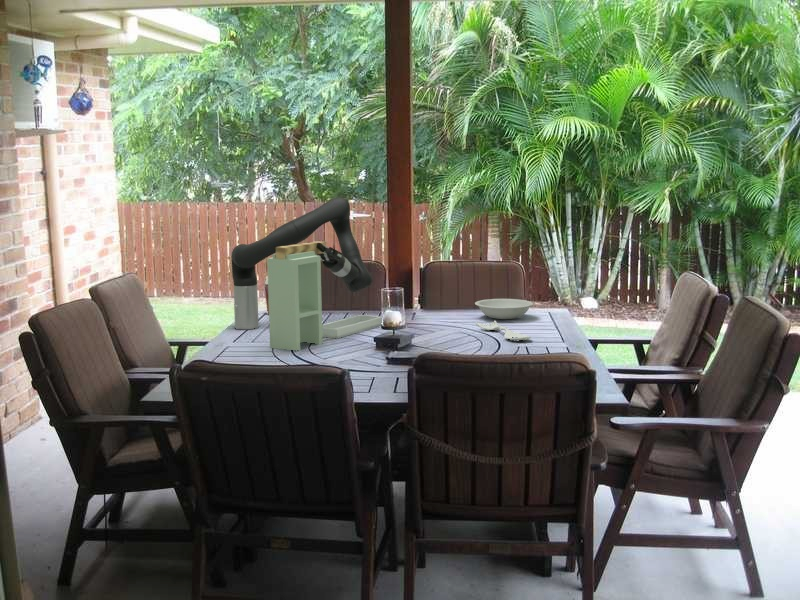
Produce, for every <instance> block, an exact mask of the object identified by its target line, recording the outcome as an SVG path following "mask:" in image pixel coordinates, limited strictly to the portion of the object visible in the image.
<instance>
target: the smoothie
mask: <svg viewBox="0 0 800 600" xmlns="http://www.w3.org/2000/svg"><path fill="white" fill-rule="evenodd" d="M264 281H265V282H264V291H265V300H266V301H265V303H266V312H267V313H268V315H269V298H268V277H267V278H266V280H264Z"/></svg>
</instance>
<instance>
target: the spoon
mask: <svg viewBox="0 0 800 600" xmlns="http://www.w3.org/2000/svg"><path fill="white" fill-rule="evenodd" d="M475 325H476V327H477V326H478V327H479V328H481V329H484V330H486V329H487V330H486V331H489V330H495V331H498V330H501V331H502V330H503V331H505V333H504V334H503V335H504V336H503V337H504V338H505V339H507V340H508V339H510V340H509V341H512V340H523V341H527V340H529V339H531V338H532V336H530V335H527V334H523V333H518V332H515V331H513V330H510V329H509V328H508V327H507V326H502V325H500V324H498V322H497V321H496V320H494V321H491V322H488V323H480V322H477V321H475ZM512 337H518V338H512Z"/></svg>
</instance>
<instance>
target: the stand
mask: <svg viewBox="0 0 800 600" xmlns="http://www.w3.org/2000/svg"><path fill="white" fill-rule="evenodd" d="M266 260H267V262H266V265H267V278H268V298H269V314H268V320H269V321H268V322H269V323H268V324H269V348H270V349H276V348H278V349H279V350H283V349H287V350H286V351H291V350H296V351H295V352H298V351H297V350H299V351H301V343H302V342H307V343H306V344H310V343H315V344H314V345H318V344H320V345H322V343H323V337H322V325H323V305H322V304H323V303H322V265H321V261H322V260H321V257H320V256H315V251H311V252H304V253H297V254H290V255H286V259H276V253H274V254H272V257H267V258H266ZM278 349H277V350H278Z"/></svg>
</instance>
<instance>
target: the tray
mask: <svg viewBox="0 0 800 600" xmlns="http://www.w3.org/2000/svg"><path fill="white" fill-rule="evenodd" d="M382 317H383V316H376V315H367V314H358V315H354V316H353V315H352V316H350V317H345V318H343V319H339V320H338V319H337V320H335V321H331V322H328V323H324V324H323V323H322V338H326V337H328V339H335V338H336V339H335V340H337V339H338V338H339V339H342V338H344V337H345V338H346V337H348V335H349V336H351V334H352V335H356V334H358V332H359V333H362V332H365V330H366V331H370V330H372V328H373V329H376V328H379V326H380V327H382V326H381V323H382ZM355 333H356V334H355ZM341 337H342V338H341ZM339 339H338V340H339Z"/></svg>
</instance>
